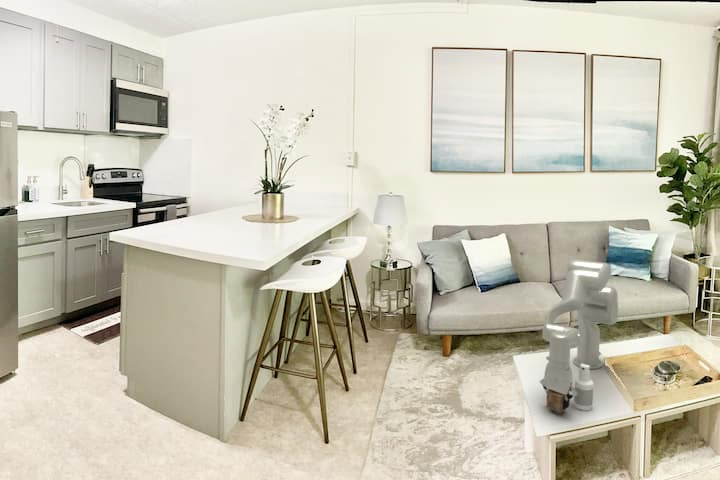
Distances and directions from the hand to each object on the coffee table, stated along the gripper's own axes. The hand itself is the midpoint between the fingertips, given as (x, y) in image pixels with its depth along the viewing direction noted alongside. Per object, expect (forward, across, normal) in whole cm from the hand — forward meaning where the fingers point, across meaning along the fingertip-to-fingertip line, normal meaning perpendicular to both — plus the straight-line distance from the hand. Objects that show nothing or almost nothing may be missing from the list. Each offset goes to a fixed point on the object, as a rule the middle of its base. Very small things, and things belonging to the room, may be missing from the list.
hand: (557, 404), depth 189 cm
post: (+3, 0, 0) cm, 3 cm away
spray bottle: (+3, +5, +11) cm, 13 cm away
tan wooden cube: (+1, 0, 0) cm, 1 cm away
